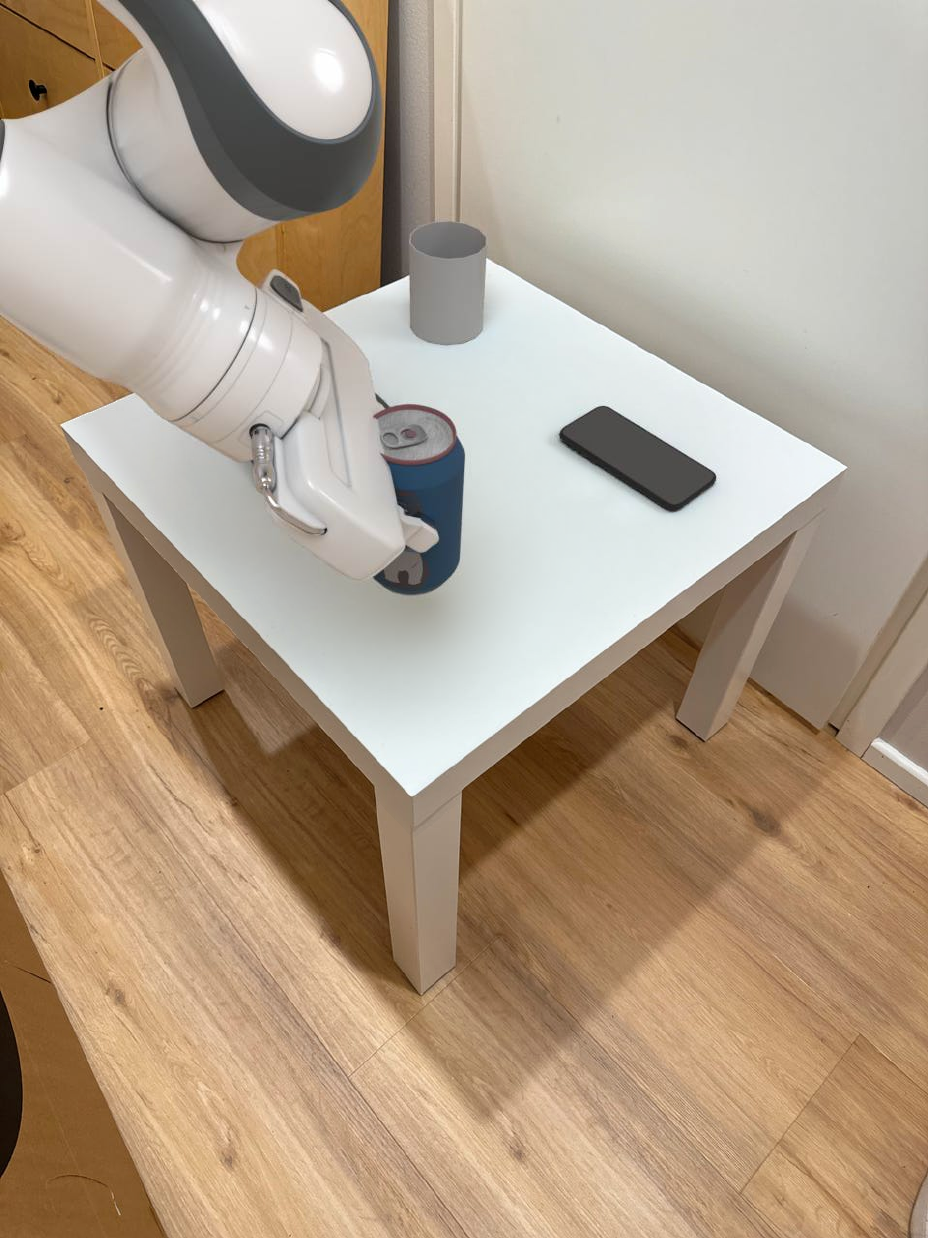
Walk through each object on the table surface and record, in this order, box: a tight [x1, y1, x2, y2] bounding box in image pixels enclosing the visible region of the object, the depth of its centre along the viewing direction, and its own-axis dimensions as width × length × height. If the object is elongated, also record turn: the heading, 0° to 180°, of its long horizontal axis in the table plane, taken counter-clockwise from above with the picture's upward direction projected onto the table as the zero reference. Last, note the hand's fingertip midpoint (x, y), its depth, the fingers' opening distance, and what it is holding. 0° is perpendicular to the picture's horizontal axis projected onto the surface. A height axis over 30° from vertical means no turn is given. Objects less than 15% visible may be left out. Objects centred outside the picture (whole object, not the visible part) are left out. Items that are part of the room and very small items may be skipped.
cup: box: [408, 220, 488, 346], centre depth 100 cm, size 8×8×10 cm
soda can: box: [372, 403, 466, 597], centre depth 61 cm, size 7×7×12 cm
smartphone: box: [558, 405, 717, 512], centre depth 89 cm, size 7×1×15 cm
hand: (420, 495), depth 60 cm, fingers closed on soda can, 7 cm apart
